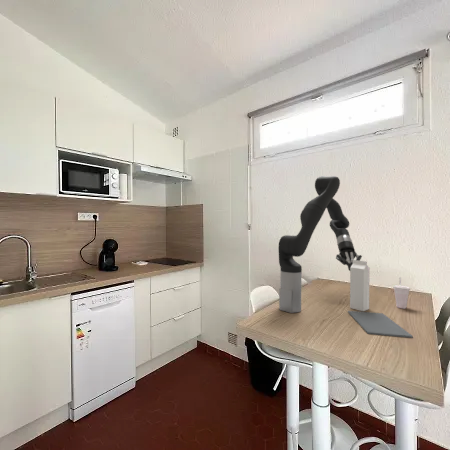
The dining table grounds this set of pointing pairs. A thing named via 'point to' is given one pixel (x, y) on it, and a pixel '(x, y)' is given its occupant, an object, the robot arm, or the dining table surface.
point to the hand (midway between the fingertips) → (352, 270)
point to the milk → (359, 285)
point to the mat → (378, 324)
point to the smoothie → (401, 295)
